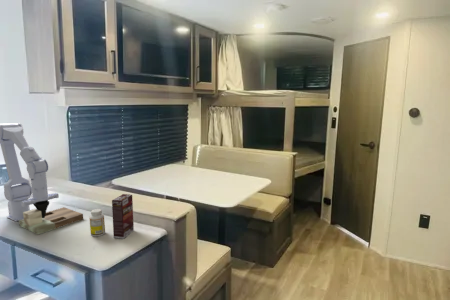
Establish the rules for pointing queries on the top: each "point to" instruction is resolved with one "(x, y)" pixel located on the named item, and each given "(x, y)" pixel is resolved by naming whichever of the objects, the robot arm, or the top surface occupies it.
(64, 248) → the top surface
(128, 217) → the supplement box
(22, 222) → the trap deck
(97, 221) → the supplement bottle
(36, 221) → the cream block
